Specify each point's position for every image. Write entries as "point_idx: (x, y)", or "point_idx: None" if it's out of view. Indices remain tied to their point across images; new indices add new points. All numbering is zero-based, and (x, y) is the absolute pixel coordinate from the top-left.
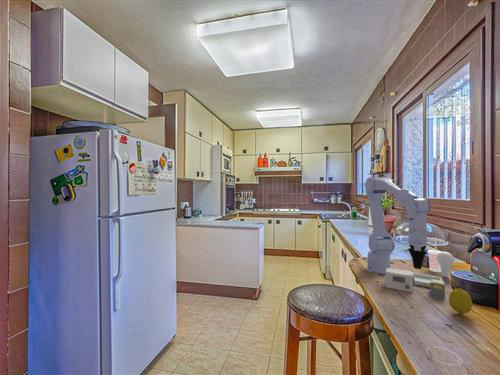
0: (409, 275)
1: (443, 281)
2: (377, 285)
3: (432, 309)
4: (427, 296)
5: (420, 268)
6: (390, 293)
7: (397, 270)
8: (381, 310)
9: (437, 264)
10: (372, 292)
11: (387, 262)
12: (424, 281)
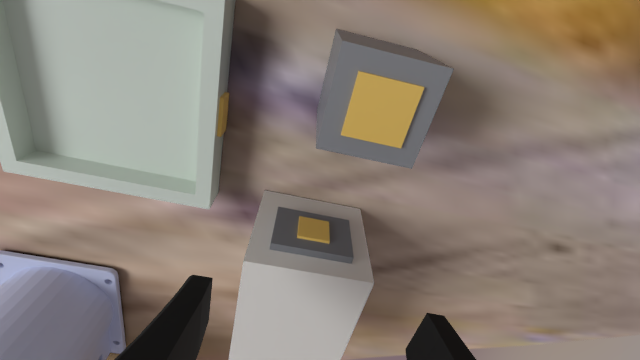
0: (361, 297)
1: (353, 48)
2: None
3: (584, 170)
4: None
5: (449, 326)
6: (407, 296)
7: (263, 338)
8: (588, 337)
9: None
10: None
11: (40, 347)
12: (119, 102)
